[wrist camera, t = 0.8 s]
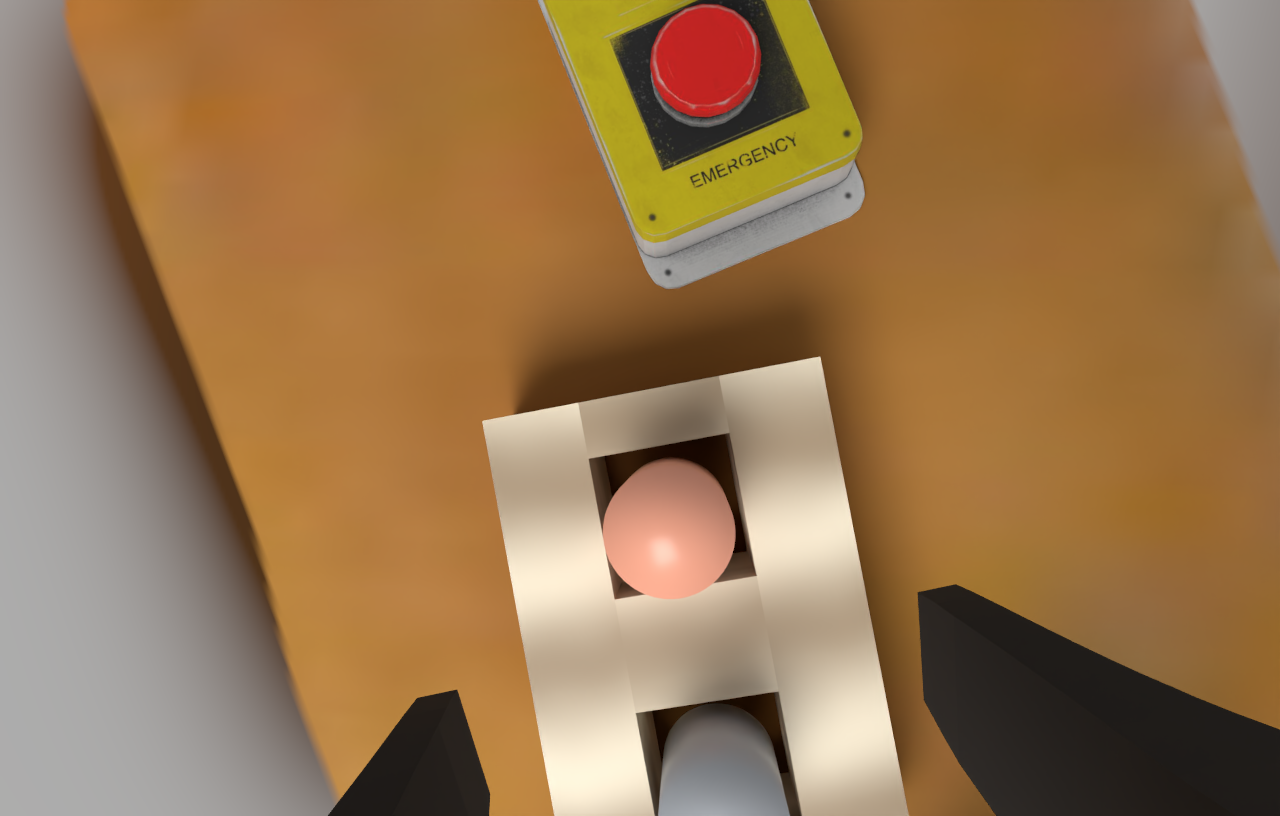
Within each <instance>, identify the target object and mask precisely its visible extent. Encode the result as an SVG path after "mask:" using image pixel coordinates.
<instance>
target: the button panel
mask: <svg viewBox="0 0 1280 816" xmlns="http://www.w3.org/2000/svg"><path fill="white" fill-rule="evenodd" d="M482 422H483V428H484V433H485V438H486V444H487V449H488V455H489V460H490V466H491V471H492V477H493V482H494V488H495V493H496V499H497V504H498V510H499V515H500V521H501V526H502V531H503V537H504V542H505V548H506V553H507V559H508V564H509V570H510V575H511V581H512V586H513V592H514V597H515V603H516V608H517V614H518V619H519V624H520V630H521V635H522V641H523V646H524V652H525V657H526V663H527V668H528V674H529V679H530V685H531V690H532V696H533V701H534V707H535V712H536V717H537V723H538V728H539V734H540V739H541V745H542V750H543V756H544V761H545V767H546V772H547V778H548V783H549V789H550V794H551V800H552V805H553V810H554V816H658V812H659V800H660V788H661V776H662V762H661V757H660V751H659V746H658V740H657V735H656V730H655V724H654V719H653V714H652V711H653V710H660V709H666V708H673V707H679V706H686V705H692V704H699V703H705V702H712V701H719V700H725V699H732V698H738V697H745V696H751V695H758V694H765V693H771V692H774V696H775V701H776V706H777V712H778V717H779V722H780V727H781V733H782V738H783V743H784V749H785V754H786V759H787V764H788V770H789V772H787V773H780V777H781V781H782V785H783V789H784V794H785V798H786V802H787V806H788V810H789V814H790V816H909V815H908V809H907V804H906V799H905V794H904V789H903V783H902V778H901V773H900V768H899V763H898V758H897V752H896V747H895V742H894V737H893V732H892V726H891V721H890V716H889V711H888V706H887V700H886V695H885V690H884V685H883V680H882V675H881V669H880V664H879V659H878V654H877V649H876V643H875V638H874V633H873V628H872V623H871V617H870V612H869V607H868V602H867V597H866V592H865V586H864V581H863V576H862V571H861V566H860V560H859V555H858V550H857V545H856V540H855V534H854V529H853V524H852V519H851V514H850V509H849V503H848V498H847V493H846V488H845V483H844V477H843V472H842V467H841V462H840V457H839V451H838V446H837V441H836V436H835V431H834V425H833V420H832V415H831V410H830V405H829V400H828V394H827V389H826V384H825V379H824V374H823V368H822V363H821V358H820V357H815V358H810V359H805V360H800V361H794V362H789V363H784V364H779V365H773V366H768V367H763V368H758V369H752V370H747V371H742V372H737V373H731V374H726V375H721V376H716V377H711V378H705V379H700V380H695V381H690V382H684V383H679V384H674V385H669V386H663V387H658V388H653V389H648V390H642V391H637V392H632V393H627V394H621V395H616V396H611V397H606V398H600V399H595V400H590V401H585V402H580V403H574V404H569V405H564V406H559V407H553V408H548V409H543V410H538V411H532V412H527V413H522V414H517V415H511V416H506V417H501V418H496V419H490V420H485V421H482ZM721 434H725V437H726V443H727V448H728V453H729V458H730V464H731V469H732V474H733V480H734V485H735V490H736V495H737V501H738V506H739V511H740V516H741V522H742V527H743V532H744V538H745V543H746V548H747V551H745V552H739V553H733V554H732V556H731V559H730V561H729V563H728V565H727V567H726V569H725V570H724V572H723V573H722V574H721V575H720V577H719V578H718V579H717V580H716V581H715V582H714V583H713V584H712V585H710V586H709V587H707V588H706V589H705V590H703V591H701V592H699V593H697V594H694V595H692V596H689V597H685V598H679V599H661V598H655V597H652V596H648V595H646V594H643V593H641V592H639V591H637V590H636V589H634V588H632V587H631V586H630V585H629V584H627V583H626V582H625V581H624V580H623V579H622V578H621V577H620V576H619V575H618V574H617V572H616V571H615V569H614V568H613V566H612V564H611V563H610V561H609V558H608V556H607V553H606V550H605V546H604V540H603V524H604V517H605V514H606V510H607V508H608V506H609V503H610V501H611V500H612V493H611V488H610V482H609V477H608V472H607V466H606V461H605V456H606V455H612V454H617V453H623V452H628V451H634V450H639V449H645V448H650V447H655V446H661V445H666V444H672V443H677V442H683V441H688V440H693V439H699V438H704V437H710V436H715V435H721Z"/></svg>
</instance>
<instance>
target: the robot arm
mask: <svg viewBox="0 0 1280 816" xmlns="http://www.w3.org/2000/svg"><path fill="white" fill-rule="evenodd" d="M918 606H919V623H920V640H921V658H922V675H923V692H924V701H925V703H926V705H927V706H928V708H929V710H930V712H931V714H932V716H933V717H934V719H935V721H936V723H937V725H938V727H939V728H940V730H941V732H942V734H943V736H944V738H945V739H946V741H947V743H948V744H949V746H950V748H951V750H952V751H953V753H954V755H955V757H956V758H957V760H958V762H959V764H960V765H961V766H962V768H963V769H964V771H965V772H966V774H967V775H968V776H969V778H970V779H971V781H972V782H973V784H974V785H975V786H976V788H977V789H978V791H979V792H980V793H981V795H982V796H983V798H984V799H985V800H986V802H987V803H988V805H989V806H990V807H991V809H992V810H993V812H994V813H995V814H996V816H1280V730H1279V729H1277V728H1274V727H1271V726H1268V725H1266V724H1263V723H1260V722H1258V721H1255V720H1252V719H1250V718H1247V717H1244V716H1242V715H1239V714H1236V713H1234V712H1231V711H1228V710H1226V709H1223V708H1221V707H1218V706H1216V705H1214V704H1211V703H1209V702H1206V701H1204V700H1201V699H1199V698H1196V697H1194V696H1192V695H1189V694H1187V693H1185V692H1182V691H1180V690H1178V689H1175V688H1173V687H1171V686H1168V685H1166V684H1164V683H1162V682H1159V681H1157V680H1155V679H1152V678H1150V677H1148V676H1145V675H1143V674H1141V673H1138V672H1136V671H1134V670H1132V669H1130V668H1128V667H1125V666H1123V665H1121V664H1119V663H1117V662H1114V661H1112V660H1110V659H1108V658H1106V657H1104V656H1102V655H1100V654H1097V653H1095V652H1093V651H1091V650H1089V649H1087V648H1085V647H1083V646H1081V645H1079V644H1077V643H1075V642H1072V641H1070V640H1068V639H1066V638H1064V637H1062V636H1060V635H1058V634H1056V633H1054V632H1052V631H1050V630H1048V629H1046V628H1044V627H1042V626H1040V625H1038V624H1036V623H1034V622H1032V621H1030V620H1028V619H1026V618H1024V617H1022V616H1020V615H1018V614H1016V613H1014V612H1012V611H1010V610H1008V609H1006V608H1004V607H1002V606H1000V605H998V604H996V603H994V602H992V601H990V600H988V599H986V598H984V597H982V596H980V595H978V594H976V593H974V592H972V591H969V590H967V589H965V588H963V587H961V586H958V585H956V584H955V585H951V586H946V587H941V588H936V589H932V590H927V591H922V592H918ZM489 806H490V792H489V789H488V786H487V783H486V780H485V776H484V773H483V770H482V767H481V764H480V761H479V757H478V754H477V751H476V748H475V745H474V742H473V738H472V735H471V732H470V729H469V726H468V723H467V719H466V716H465V713H464V710H463V707H462V704H461V700H460V697H459V694H458V691H457V690H453V691H448V692H444V693H439V694H434V695H429V696H425V697H420V698H417V699H416V700H415V702H414V703H413V704H412V705H411V707H410V708H409V709H408V710H407V712H406V713H405V714H404V716H403V717H402V718H401V720H400V721H399V722H398V724H397V725H396V726H395V728H394V729H393V730H392V732H391V733H390V734H389V736H388V737H387V739H386V740H385V741H384V743H383V744H382V745H381V747H380V748H379V749H378V751H377V752H376V753H375V755H374V756H373V757H372V759H371V760H370V761H369V763H368V764H367V765H366V767H365V768H364V769H363V771H362V772H361V773H360V775H359V776H358V777H357V778H356V780H355V781H354V782H353V784H352V785H351V786H350V788H349V789H348V790H347V791H346V793H345V794H344V795H343V797H342V798H341V799H340V801H339V802H338V803H337V804H336V806H335V807H334V808H333V810H332V811H331V812H330V814H329V815H328V816H489Z"/></svg>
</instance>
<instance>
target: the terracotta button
mask: <svg viewBox="0 0 1280 816" xmlns="http://www.w3.org/2000/svg"><path fill="white" fill-rule="evenodd" d="M603 540H604V546H605V550H606V553H607V556H608V558H609V561H610V563H611V564H612V566H613V568H614V569H615V571H616V572H617V574H618V575H619V576H620V577H621V578H622V579H623V580H624V581H625V582H626V583H627V584H629V585H630V586H631V587H632V588H634V589H636V590H637V591H639V592H641V593H643V594H646V595H648V596H652V597H655V598H661V599H679V598H685V597H689V596H692V595H694V594H697V593H699V592H701V591H703V590H705V589H706V588H707V587H709V586H710V585H712V584H713V583H714V582H715V581H716V580H717V579H718V578H719V577H720V575H721V574H722V573H723V572H724V570H725V569H726V567H727V565H728V563H729V561H730V559H731V556H732V553H733V550H734V545H735V523H734V518H733V514H732V511H731V509H730V506H729V504H728V501H727V498H726V496H725V493H724V491H723V489H722V487H721V485H720V483H719V482H718V480H717V479H716V478H715V476H714V475H713V474H712V473H711V472H710V471H708V470H707V469H706V468H705V467H703V466H701V465H700V464H698V463H696V462H694V461H691V460H688V459H684V458H678V457H667V458H660V459H656V460H654V461H651V462H649V463H647V464H645V465H643V466H642V467H640V468H639V469H638V470H636V471H635V472H634V473H633V474H632V475H631V476H630V477H629V479H628V480H627V481H626V482H625V483H624V484H623V485H622V486H621V487H620V488H619V489H618V491H617V492H616V493H615V495H614V496H613V498H612V500H611V501H610V503H609V506H608V508H607V510H606V514H605V517H604V524H603Z"/></svg>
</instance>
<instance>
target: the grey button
mask: <svg viewBox="0 0 1280 816" xmlns="http://www.w3.org/2000/svg"><path fill="white" fill-rule="evenodd" d="M658 816H790V814H789V810H788V806H787V802H786V798H785V794H784V789H783V785H782V781H781V777H780V773H779V769H778V764H777V760H776V756H775V752H774V748H773V744H772V741H771V739H770V737H769V735H768V733H767V731H766V730H765V728H764V727H763V726H762V724H761V723H760V722H759V721H758V720H757V719H756V718H755V717H754V716H752V715H751V714H750V713H748V712H746V711H745V710H743V709H741V708H739V707H736V706H733V705H729V704H723V703H712V704H705V705H701V706H698V707H696V708H693V709H692V710H690V711H688V712H687V713H685V714H684V715H682V716H681V717H680V718H679V719H678V720H677V721H676V723H675V724H674V725H673V726H672V728H671V730H670V731H669V734H668V736H667V738H666V742H665V745H664V752H663V764H662V776H661V788H660V800H659V812H658Z"/></svg>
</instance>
